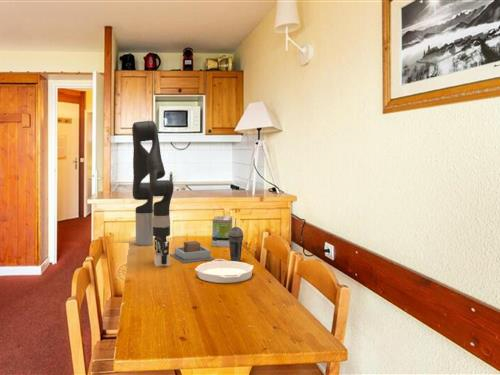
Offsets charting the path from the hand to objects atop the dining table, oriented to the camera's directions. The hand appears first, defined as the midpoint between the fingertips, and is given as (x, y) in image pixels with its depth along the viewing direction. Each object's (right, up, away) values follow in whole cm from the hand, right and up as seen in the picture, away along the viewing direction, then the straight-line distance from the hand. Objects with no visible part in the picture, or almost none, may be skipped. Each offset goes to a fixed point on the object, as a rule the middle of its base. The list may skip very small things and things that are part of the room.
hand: (161, 262), depth 197 cm
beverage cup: (+33, -1, +9) cm, 34 cm away
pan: (+29, -3, -16) cm, 33 cm away
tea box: (+24, +2, +45) cm, 51 cm away
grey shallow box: (+12, 0, +14) cm, 18 cm away
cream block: (0, -1, 0) cm, 1 cm away
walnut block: (+12, +1, +14) cm, 18 cm away
